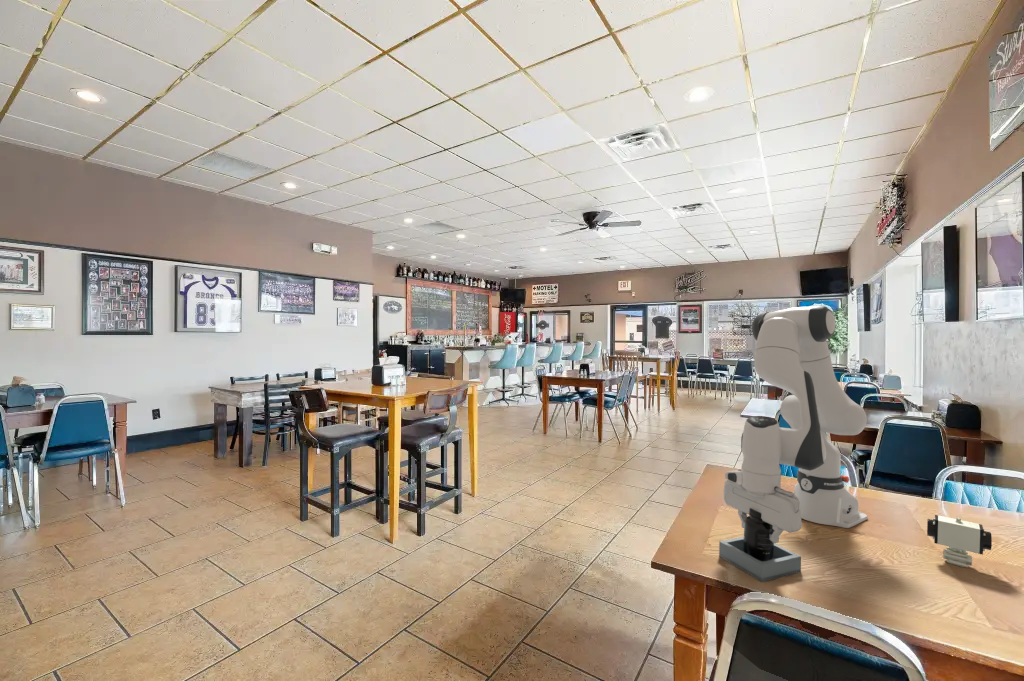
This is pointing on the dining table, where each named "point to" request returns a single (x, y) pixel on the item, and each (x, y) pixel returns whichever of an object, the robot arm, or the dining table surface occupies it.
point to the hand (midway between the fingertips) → (759, 534)
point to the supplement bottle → (757, 537)
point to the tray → (761, 570)
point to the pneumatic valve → (959, 538)
